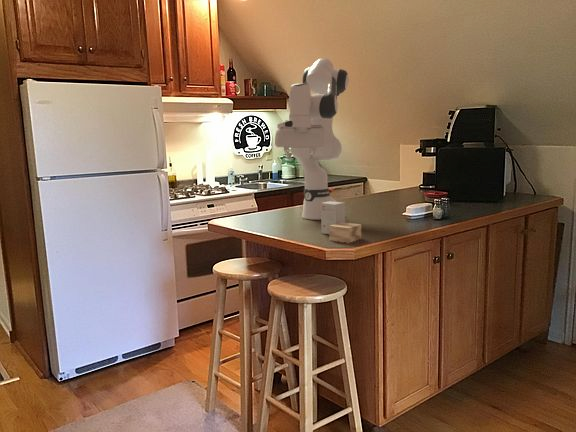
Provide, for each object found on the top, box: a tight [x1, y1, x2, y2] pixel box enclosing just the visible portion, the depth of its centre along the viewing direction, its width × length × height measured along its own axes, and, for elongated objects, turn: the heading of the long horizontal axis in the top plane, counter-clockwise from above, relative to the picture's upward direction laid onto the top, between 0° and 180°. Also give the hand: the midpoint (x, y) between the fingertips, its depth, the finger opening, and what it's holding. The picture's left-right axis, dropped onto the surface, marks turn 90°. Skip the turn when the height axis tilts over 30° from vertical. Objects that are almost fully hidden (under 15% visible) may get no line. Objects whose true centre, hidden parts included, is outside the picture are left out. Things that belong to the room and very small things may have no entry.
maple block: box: [328, 221, 362, 244], centre depth 206 cm, size 9×9×6 cm
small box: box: [320, 201, 346, 235], centre depth 217 cm, size 8×6×13 cm
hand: (300, 159), depth 208 cm, fingers open, 8 cm apart
